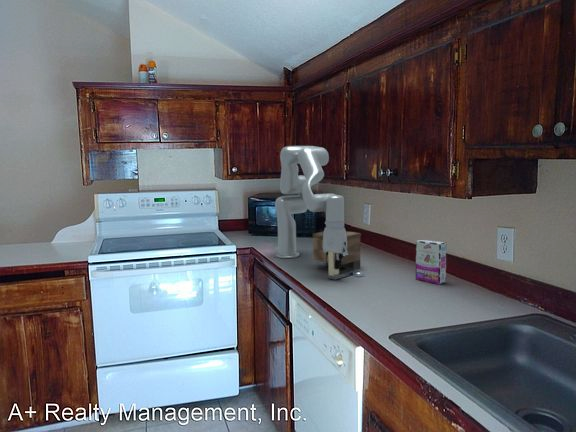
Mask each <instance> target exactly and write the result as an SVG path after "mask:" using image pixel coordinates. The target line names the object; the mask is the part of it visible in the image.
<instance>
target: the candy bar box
mask: <svg viewBox="0 0 576 432" xmlns="http://www.w3.org/2000/svg"><path fill="white" fill-rule="evenodd" d="M415 280H417V281H421V282H425V283H430V284H435V285H443V284H445V283H447V281H446V280H447V242H445V241H437V240H430V239H419V240H415Z"/></svg>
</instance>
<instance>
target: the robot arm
mask: <svg viewBox="0 0 576 432" xmlns="http://www.w3.org/2000/svg"><path fill="white" fill-rule="evenodd" d="M279 158H280V164H281V165H280V166H281V172H280V182H279V190H280V192H281V194H283V196H279V197H277V198H276V199H275V202H274V207H275V212H276V213H275V214H276V220H277V246H275V247H274V251H276V253H275V257H276V258H280V259H294V258H298V257H300V252H298V251H297V224H296V222H297V221H296V220H295V219H294V217H293V216H292V215H294V214H296V215H297V214H302V213H303V214H304V213H306V212H307V210H308V211H310V212H313V213H317V212H319V213H320V212H325V221H324V224H325V227H324V230H323V232H324V234H323V251H324V252H325V253H326V254H327V255H328V252H334V253H336V259H337V260H335V268H336V269H339V270H340V269H342V268H341V259H343V257H344V256H346V255H348V252H347V236H346V228H345V199H344V198H345V197H344V196H343V195H340V194H339V195H338V194H336V193H332V192H331V193H316V194H314V193H313V191H312V189H311V188H312V186H313V185H316V184H318V183H320V182H321V181H322V180H323V179H324V177H325V172H324V170H323V168H322V167H323V166H326V165H327V164H328V163H329V161H330V160H329V159H330V156H329V152H328V151H327V149H326V148H324V147H320V146H315V145H288V146H284V147H282V149H281V151H280V154H279ZM298 165H300V168H301V169H302V174H303V175H301V174H300V175H299V171H300V170H299V166H298ZM339 254H340V255H339Z"/></svg>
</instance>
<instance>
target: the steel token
mask: <svg viewBox="0 0 576 432" xmlns="http://www.w3.org/2000/svg"><path fill="white" fill-rule="evenodd" d="M352 276H353V277H355V278H363V277H365V276H366V275H365V271H364V270H363V271H362V270H358V271H354V272H353V274H352Z"/></svg>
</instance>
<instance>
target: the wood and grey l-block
mask: <svg viewBox="0 0 576 432" xmlns="http://www.w3.org/2000/svg"><path fill="white" fill-rule="evenodd" d="M335 260H337V259H336V253H334V252H328V265H327V266H328V274H327V278H328V279H330V280H336V281H337V280H340V279H342V278H344V277H349V276H353V272H354V271H359V269H353V268H349V269H346V268H344V269H343V270H340V269H336V268H335Z"/></svg>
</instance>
